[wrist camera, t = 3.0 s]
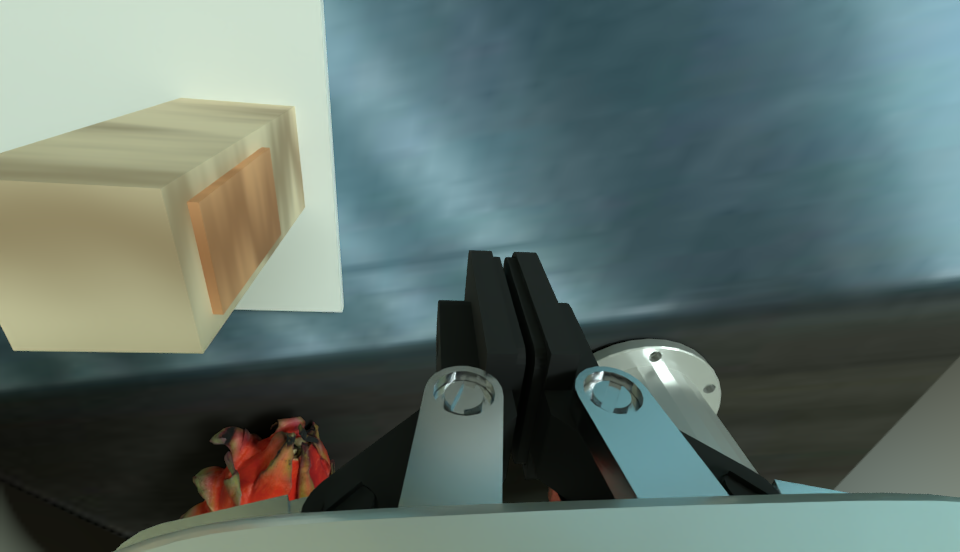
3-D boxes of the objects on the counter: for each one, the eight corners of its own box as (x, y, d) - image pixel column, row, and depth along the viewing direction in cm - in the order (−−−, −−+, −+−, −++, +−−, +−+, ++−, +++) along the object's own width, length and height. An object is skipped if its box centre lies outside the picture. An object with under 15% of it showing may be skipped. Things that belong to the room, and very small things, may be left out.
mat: (344, 306, 28) (342, 312, 27) (-28, 296, 25) (-38, 302, 25) (319, -58, 19) (316, -61, 18) (-248, -124, 17) (-270, -128, 16)
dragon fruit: (243, 478, 36) (315, 364, 34) (313, 559, 34) (396, 445, 32) (129, 537, 28) (211, 395, 26) (211, 649, 26) (311, 506, 24)
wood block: (311, 207, 24) (213, 353, 13) (203, 202, 23) (13, 350, 13) (301, 106, 21) (174, 189, 11) (180, 97, 21) (-75, 176, 10)
